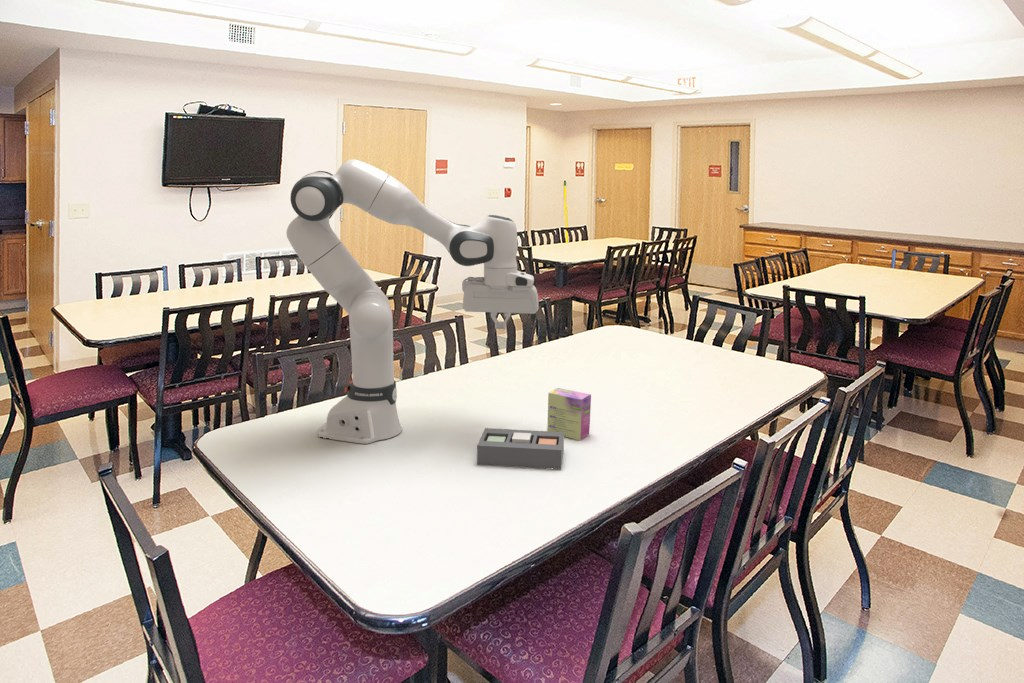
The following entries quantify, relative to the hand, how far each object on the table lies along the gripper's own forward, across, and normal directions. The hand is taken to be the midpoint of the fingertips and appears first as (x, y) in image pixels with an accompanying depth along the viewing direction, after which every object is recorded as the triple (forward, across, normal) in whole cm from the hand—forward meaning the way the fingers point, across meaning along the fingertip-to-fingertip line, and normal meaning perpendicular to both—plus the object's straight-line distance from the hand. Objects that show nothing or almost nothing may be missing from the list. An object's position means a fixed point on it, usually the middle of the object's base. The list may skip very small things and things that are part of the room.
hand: (500, 328), depth 186 cm
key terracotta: (+27, +14, -18) cm, 35 cm away
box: (+29, +19, 0) cm, 35 cm away
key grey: (+25, +8, -18) cm, 32 cm away
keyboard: (+29, +8, -18) cm, 35 cm away
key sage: (+27, +1, -18) cm, 32 cm away
